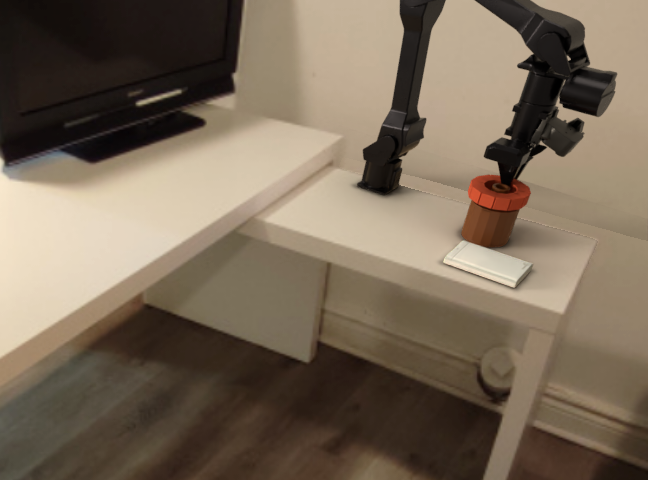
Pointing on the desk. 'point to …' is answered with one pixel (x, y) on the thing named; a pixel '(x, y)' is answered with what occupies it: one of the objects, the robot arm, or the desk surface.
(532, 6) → the robot arm
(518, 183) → the orange faceted ring
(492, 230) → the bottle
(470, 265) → the hard drive
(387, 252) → the desk surface
